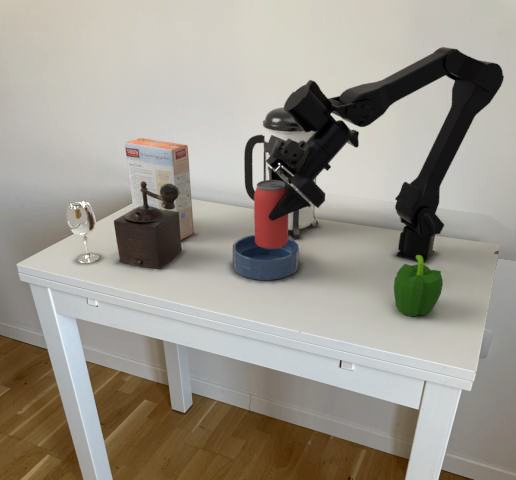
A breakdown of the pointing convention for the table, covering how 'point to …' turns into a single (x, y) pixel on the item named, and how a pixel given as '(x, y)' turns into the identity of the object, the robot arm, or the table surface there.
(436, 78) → the robot arm
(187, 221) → the cracker box
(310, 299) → the table surface
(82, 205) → the wineglass
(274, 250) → the bowl
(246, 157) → the coffee press
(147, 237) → the manual coffee grinder
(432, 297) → the bell pepper
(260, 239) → the beer can
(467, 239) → the table surface
